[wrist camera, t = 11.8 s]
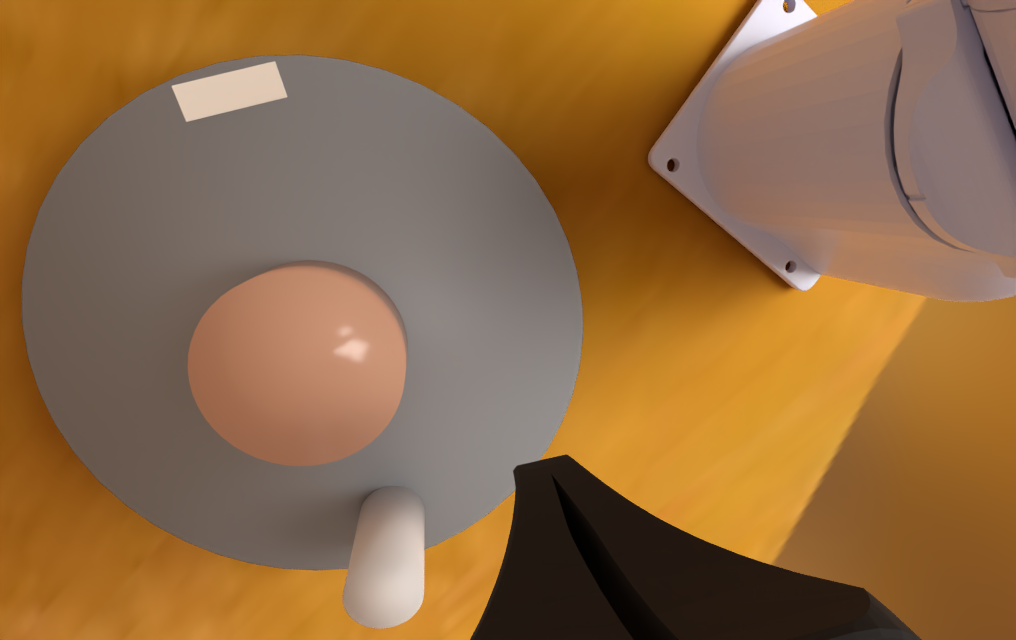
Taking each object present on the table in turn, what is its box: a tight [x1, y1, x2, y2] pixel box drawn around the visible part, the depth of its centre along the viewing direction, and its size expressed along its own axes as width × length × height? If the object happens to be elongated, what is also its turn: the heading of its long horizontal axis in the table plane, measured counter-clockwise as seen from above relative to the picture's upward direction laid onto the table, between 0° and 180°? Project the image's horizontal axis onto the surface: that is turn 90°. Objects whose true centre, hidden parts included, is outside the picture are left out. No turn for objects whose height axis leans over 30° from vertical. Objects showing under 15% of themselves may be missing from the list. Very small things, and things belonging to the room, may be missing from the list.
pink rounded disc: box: [188, 260, 408, 466], centre depth 16 cm, size 6×6×2 cm
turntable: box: [22, 55, 583, 628], centre depth 16 cm, size 18×18×5 cm
